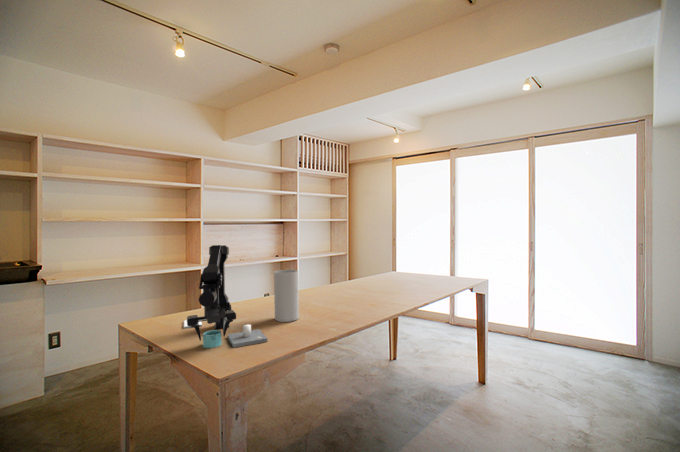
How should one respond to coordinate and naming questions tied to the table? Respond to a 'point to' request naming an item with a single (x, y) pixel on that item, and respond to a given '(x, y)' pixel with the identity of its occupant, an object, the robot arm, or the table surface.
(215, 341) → the mug with handle
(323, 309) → the table surface
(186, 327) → the external hard drive
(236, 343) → the flat gray panel
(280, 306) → the cylinder vase
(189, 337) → the table surface
